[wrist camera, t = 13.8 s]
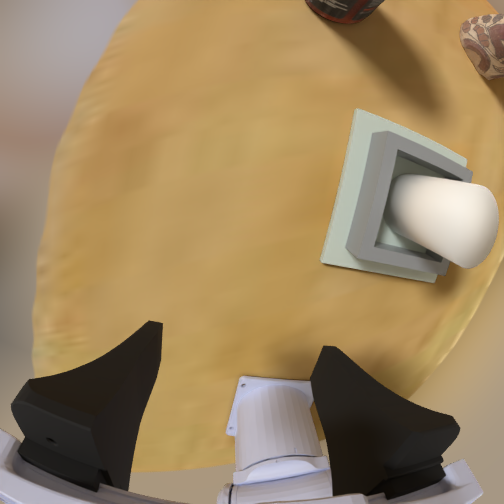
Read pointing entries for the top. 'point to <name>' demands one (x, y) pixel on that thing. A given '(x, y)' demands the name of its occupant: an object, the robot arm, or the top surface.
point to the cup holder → (384, 199)
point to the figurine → (485, 44)
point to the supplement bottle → (344, 9)
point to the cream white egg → (444, 216)
